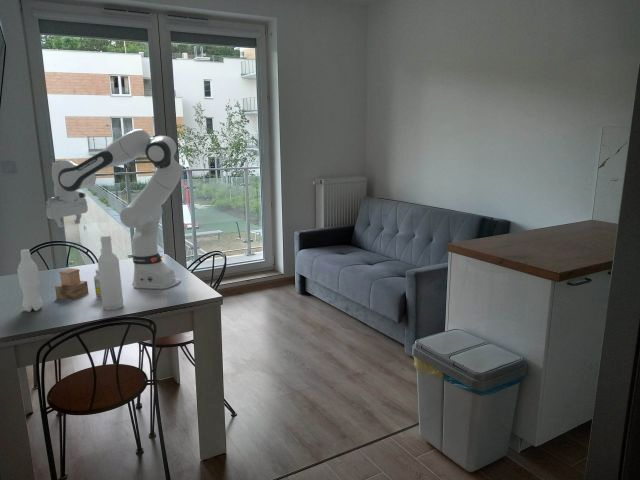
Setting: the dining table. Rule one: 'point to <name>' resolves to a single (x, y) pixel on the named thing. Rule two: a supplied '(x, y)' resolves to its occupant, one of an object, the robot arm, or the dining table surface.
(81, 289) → the walnut box
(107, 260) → the bottle
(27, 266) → the water bottle
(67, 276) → the brown cardboard box
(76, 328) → the dining table surface
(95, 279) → the supplement bottle
